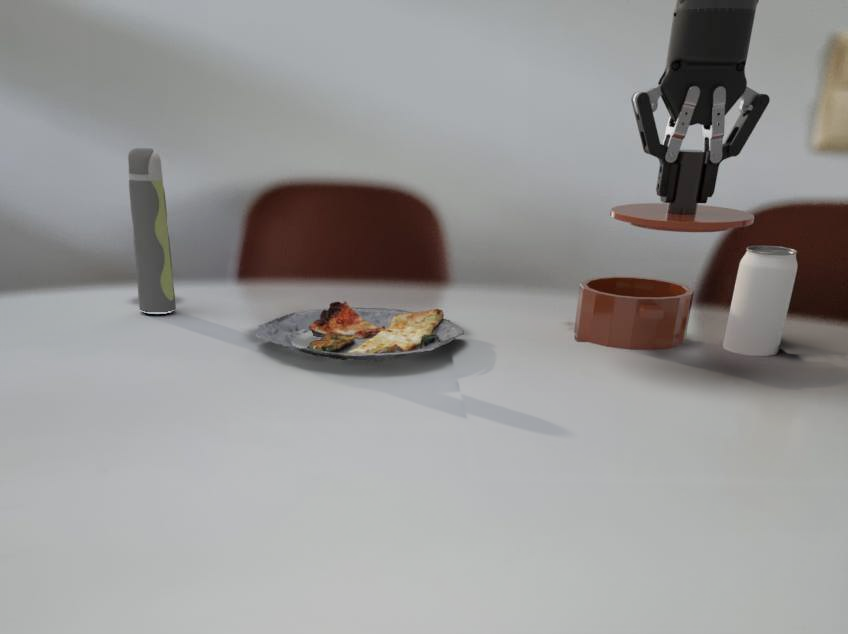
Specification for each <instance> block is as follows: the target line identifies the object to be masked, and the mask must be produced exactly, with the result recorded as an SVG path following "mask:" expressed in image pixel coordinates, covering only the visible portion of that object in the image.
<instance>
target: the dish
mask: <svg viewBox="0 0 848 634" xmlns="http://www.w3.org/2000/svg"><path fill="white" fill-rule="evenodd" d="M578 289H579V290H578V295H577V305H576V313H575V321H574V330H573V333H574V339H575V340H576V342H578V343H590V344H594V345H599V346H602V347H607V348H616V349H622V350H623V349H624V350H635V351H636V350H637V351H639V350H641V351H656V350H665V349H667V350H668V349H673V348H677V347H679V346H683V345H684V344H685V342H686V337H687V332H688V326H689V322H690V316H691V315H690V314H691V310H692V306H693V300H694V293H695V290H694V289H693V288H691V287H690V286H689V285H686V284H682V283H679V282H676V281H671V280H666V279H660V278H655V277H654V278H652V277H640V276H621V275H620V276H619V275H618V276H616V275H615V276H613V275H612V276H598V277H592V278H589V279H585V280H583V281H582V282H581V283H580V284H579V288H578Z"/></svg>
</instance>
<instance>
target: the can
mask: <svg viewBox="0 0 848 634" xmlns="http://www.w3.org/2000/svg"><path fill="white" fill-rule="evenodd" d="M797 253H798V250H796V249H794V248H791V247H784V246H777V245H751V246H750V245H749V246H747V247H746V252H745V253H744V255H743V256H742V258H741V259H740V261H739V265H738V269H737V272H736V273H737V274H736V277H735V284H734V288H733V293H732V298H731V303H730V308H729V312H728V318H727V323H726V329H725V334H724V338H723V343H722V348H723V349H724V350H726V351H728V352H731V353H734V354H737V355H743V356H751V357H767V356H768V357H769V356H774V355H777V354H778V353H779V350H780V345H781V342H782V337H783V332H784V328H785V324H786V321H787V317H788V312H789V308H790V303H791V299H792V294H793V290H794V285H795V281H796V276H797V272H798V266H799V265H798V260H797Z"/></svg>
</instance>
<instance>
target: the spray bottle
mask: <svg viewBox="0 0 848 634" xmlns="http://www.w3.org/2000/svg"><path fill="white" fill-rule="evenodd" d="M127 166H128V168H127V169H128V171H127V172H128V192H129V202H130V204H129V205H130V215H131V220H132V228H133V230H132V231H133V248H134V249H133V250H134V261H135V270H136V278H137V296H138V297H137V298H138V308H139V311H140V310H142V311H145V312H168V311H172V310H175V311H176V308H177V304H176V303H177V302H176V295H175V294H176V293H175V287H174V278H173V264H172V263H173V262H172V253H171V241H170V234H169V229H168V212H167V210H168V209H167V200H166V191H165V188H164V180H163V179H164V177H163V171H162V160H161V157H160V154H159V153H158V151H156V150H154V149H153V148H149V147H135V148H132V149H130V150H129V152H128V155H127Z"/></svg>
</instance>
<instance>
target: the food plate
mask: <svg viewBox="0 0 848 634" xmlns="http://www.w3.org/2000/svg"><path fill="white" fill-rule="evenodd" d="M444 317H445V314H444V311H443V310H442V309H439V308H434V309H433V308H432V309H429V310H421V311H415V312H414V311H407V310H404V309H403V310H402V309H395V308H382V307H350V305H349V304H348V302H347V301H346V300H343V302H340V301H334V302H331V303H330V304H329V307H328V308H324V309H316V310H315V309H313V310H310V311H308V310H307V311H302V312H292V313H289V314H285V315H282V316H280V317H277V318H275V319H272V320H270V321H268V322H265V323H262V324H260V325H258V326H257V328H256V329H255V332H254V334H255V337H257V338H258V339H260V340H262V341H263V340H266V341H269V342H271V343H273V344H275V345H277V346H280V347H282V348H286V349H287V347H288V348H290V349H293V350H296V351H299V352H300V353H303V354H306V355H310V356H313V355H314V356H313V357H320V356H321V358H325V357H328V358H330V359H333V360H341V361H347V360H352V361H357V362H359V361H366V362H368V363H370V362H371V361H372V362H374V363H377V364H378V363H384V362H385V361H386V360H388V359H396V355H401V354H402V355H401V357H405V356H407V355H410V356H414V355H415V354H416V353H417V354H418V353H423V352H430V351H434V350H436V349H438V348H439V347H442V346H444V345H445V346H446V345H447V344H449V343H451V342H452V341H453V340H456V339H457V338H458V337H460V336H463V335H464V329H462V327H460V326H459V325H457V324H455V323H454V322H452V321H451V320H450V319H447V318H444ZM302 329H306V330H304V331H303V332H302V333H306V332H308V331H312V333H313V336H316V337H322V338H320V340H314V341H312V342H310V343H309V344H308V346H307V348H299V347H296V346H293V345H292V343H291V342H292V340H293V339H292V338H294V337H295V336H294V335H293V332H296V335H300V333H297V331H299V330H302ZM289 332H292V334H290V333H289ZM369 338H371V339H369ZM328 358H327V359H328Z"/></svg>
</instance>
